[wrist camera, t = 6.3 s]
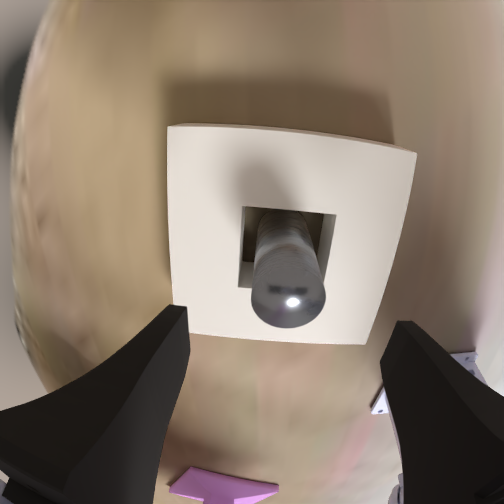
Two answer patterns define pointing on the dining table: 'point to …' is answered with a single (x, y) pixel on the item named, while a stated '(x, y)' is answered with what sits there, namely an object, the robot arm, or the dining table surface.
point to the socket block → (289, 198)
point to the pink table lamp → (220, 488)
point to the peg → (286, 272)
